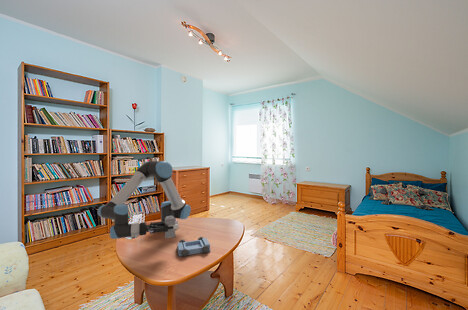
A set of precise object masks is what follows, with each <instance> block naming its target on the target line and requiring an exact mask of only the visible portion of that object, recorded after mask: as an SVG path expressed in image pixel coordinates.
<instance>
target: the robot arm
mask: <svg viewBox="0 0 468 310" xmlns="http://www.w3.org/2000/svg"><path fill="white" fill-rule="evenodd" d="M173 170H174V169H173V166H172V165H171V163H170V162H168V161H164V160H160V161H159V160H149V161H146V162H144V163H143V164H141V166H139V167H138V168H137V169H136V170H135V172H134V174H133V175H132V177H131V178H130V179H129V180H128V181H127V182H126V183H125V184H124V185H123V187H121V188H120V189H119V190H118V192H117V193H116V194H115V195H114V196H113V197H112V198H111V199H110V200H109V201H108V202H107V203H106V204H103V205H101V206H99V207H98V209H97V215H98V216H99V217H100V218H103V219H108V220H112V221H114V222H113V225H112V226H111V227H110V228H109V237H110V239H114V240H115V239H116V240H117V239H118V240H119V239H124V238H131V237H133V238H135V237H137V236H140V237H141V236H146V235H147V233H149V234H150V235H151V234H152V235H153V234H158V233H165V232H168V230H172V229H175V231H177V230H179V229H180V226H179V225H180V224H179V222H178V221H179V220H186V219H188V218H189V216H190V214H191V211H192V207H191V205H189V204H187V203H186V201H185V200H184V199H182V198H181V196H180V193H179V192H178V189H177V187H176V185H175V183H174V181H173V178H172V176H173V173H174V172H173ZM150 177H151V178H155V181H156V182H157V183H159V184H160V186H161V187H162V189H163V191H164V193H165V196H166V197H167V199H168V200H167V201H163V202H161V205H160V215H161V216H160V221H157V222H152V221H151V222H150V223H149V224H147V222H146V221H144V222H135V223H129V205H128V204H125V203H126V201H127V200H128V199H130V196H132V194H134V193H135V191H136V190H137V189H138V188H139V187H140V186H141V184H142V183H144V181H146V180H148V178H150ZM166 216H173V217H175V225H168V226H165V218H166ZM177 219H179V220H177Z"/></svg>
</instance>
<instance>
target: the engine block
mask: <svg viewBox="0 0 468 310" xmlns="http://www.w3.org/2000/svg"><path fill="white" fill-rule="evenodd" d="M175 219H176V218H175V217H173V216H166V218H165V226H168V225H175ZM164 238H165V239H169V238H176V230H175V229H172V230H168V232H164Z"/></svg>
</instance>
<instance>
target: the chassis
mask: <svg viewBox="0 0 468 310" xmlns="http://www.w3.org/2000/svg"><path fill="white" fill-rule="evenodd" d="M176 245H177V253H178V257H183V258H184V257H188V256H192V255H197V254H202V253H203V254H208V253H209V252H211V243H210V242H209V240H208V238H207V237H203V236H199V237H198V238H197V239H196V240H190V241H189V240H187V241H186V240H185V239H180V240H179V241H178V242H177V244H176Z"/></svg>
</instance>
